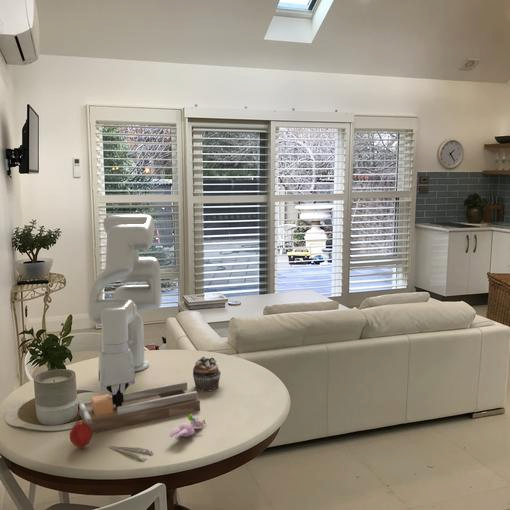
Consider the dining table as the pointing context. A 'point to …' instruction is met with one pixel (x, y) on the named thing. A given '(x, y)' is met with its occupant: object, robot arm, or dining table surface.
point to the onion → (81, 434)
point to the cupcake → (206, 374)
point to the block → (102, 404)
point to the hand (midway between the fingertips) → (118, 404)
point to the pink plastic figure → (187, 427)
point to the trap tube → (143, 407)
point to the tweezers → (133, 450)
